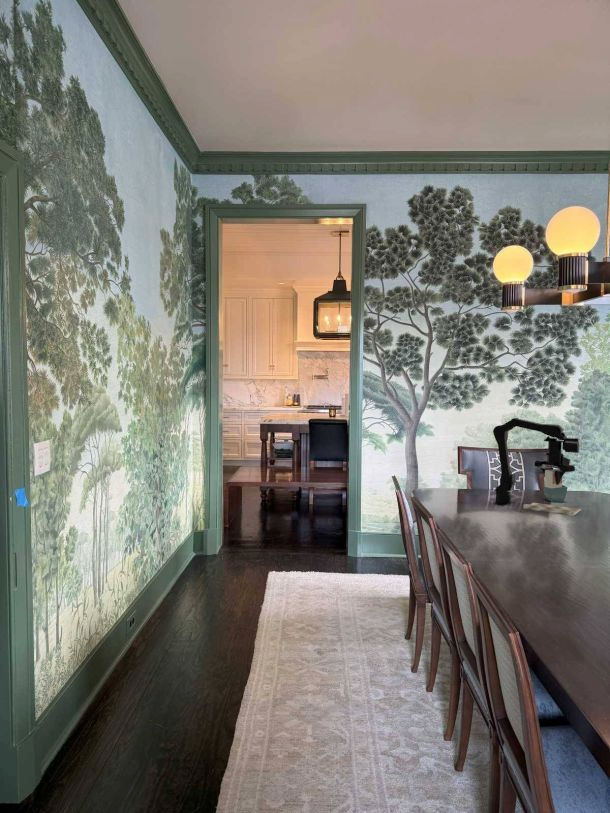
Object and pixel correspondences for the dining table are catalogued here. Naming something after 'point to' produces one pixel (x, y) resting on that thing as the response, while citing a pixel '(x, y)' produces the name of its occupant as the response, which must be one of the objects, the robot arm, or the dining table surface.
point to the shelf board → (551, 509)
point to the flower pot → (555, 493)
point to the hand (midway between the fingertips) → (553, 483)
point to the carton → (551, 479)
